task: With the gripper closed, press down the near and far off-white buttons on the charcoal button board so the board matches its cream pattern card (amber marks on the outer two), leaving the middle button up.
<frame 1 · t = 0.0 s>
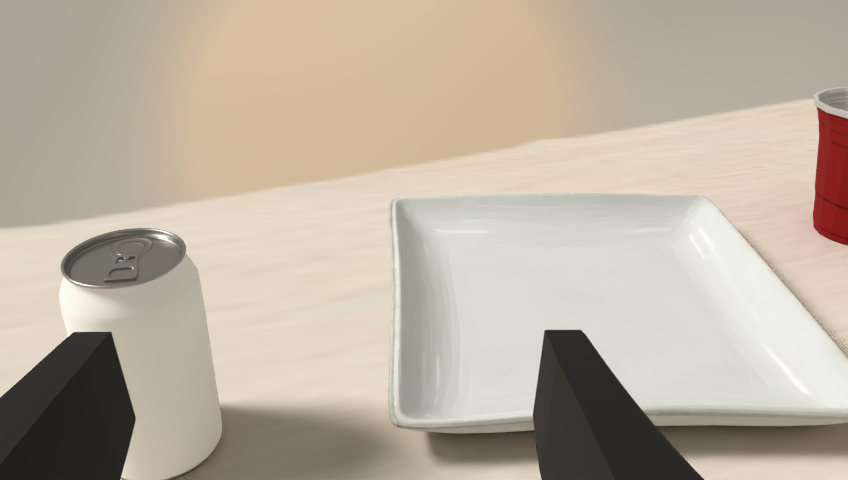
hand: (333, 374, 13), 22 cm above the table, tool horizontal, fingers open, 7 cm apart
can: (164, 445, 41), on the table
plastic cup: (845, 232, 65), on the table
square plate: (581, 324, 53), on the table
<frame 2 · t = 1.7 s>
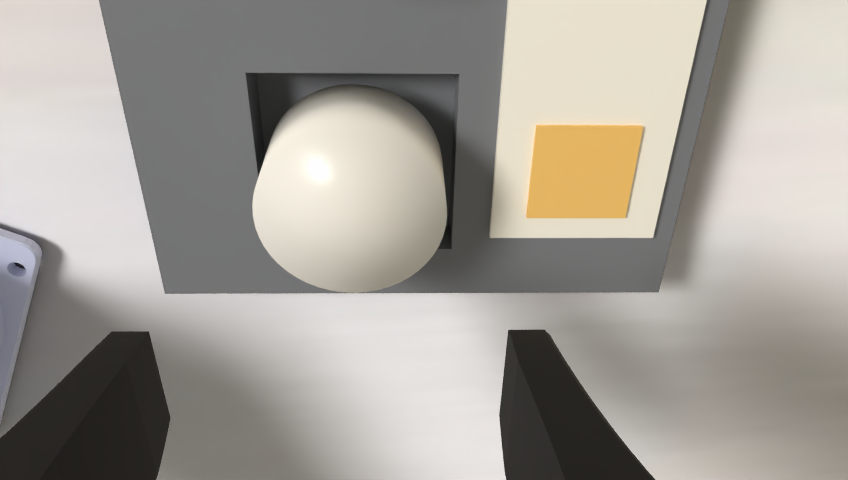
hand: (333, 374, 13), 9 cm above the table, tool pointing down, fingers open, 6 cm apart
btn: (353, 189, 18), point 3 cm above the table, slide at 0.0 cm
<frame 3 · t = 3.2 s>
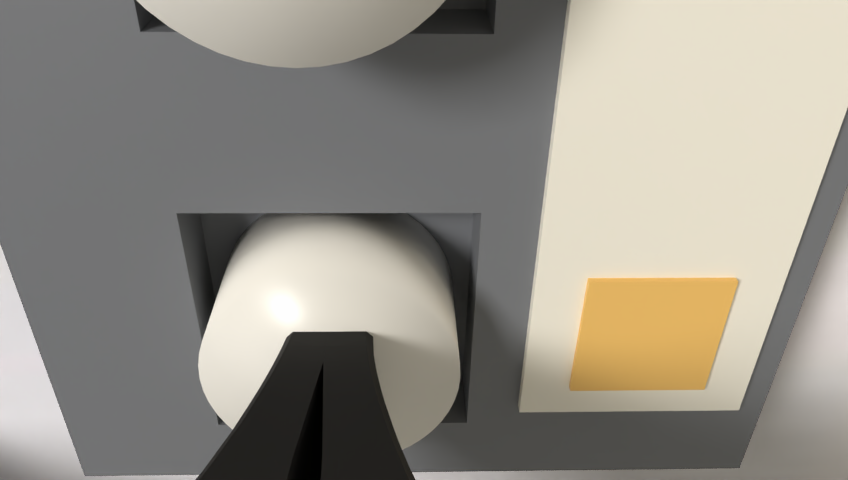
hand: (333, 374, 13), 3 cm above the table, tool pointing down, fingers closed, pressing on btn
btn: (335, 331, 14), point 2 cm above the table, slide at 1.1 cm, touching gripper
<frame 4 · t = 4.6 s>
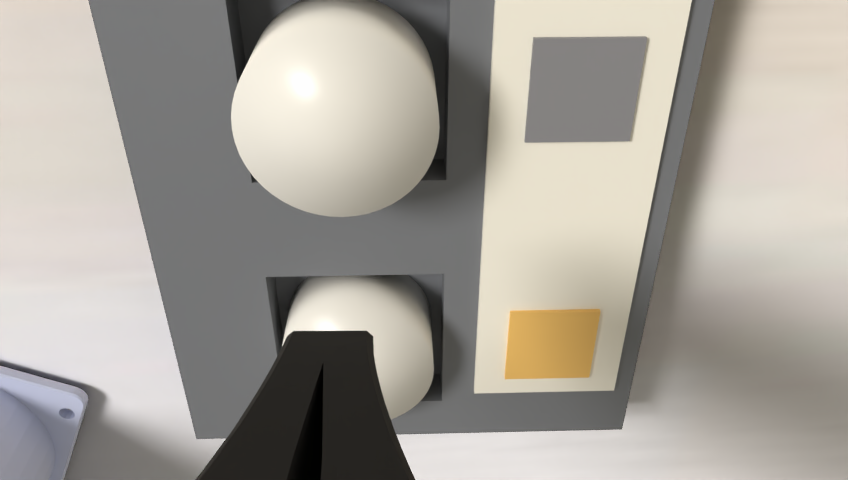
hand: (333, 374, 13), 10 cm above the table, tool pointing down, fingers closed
button board: (405, 59, 19), on the table
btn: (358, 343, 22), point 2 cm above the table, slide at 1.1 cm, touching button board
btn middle: (339, 106, 17), point 3 cm above the table, slide at 0.0 cm
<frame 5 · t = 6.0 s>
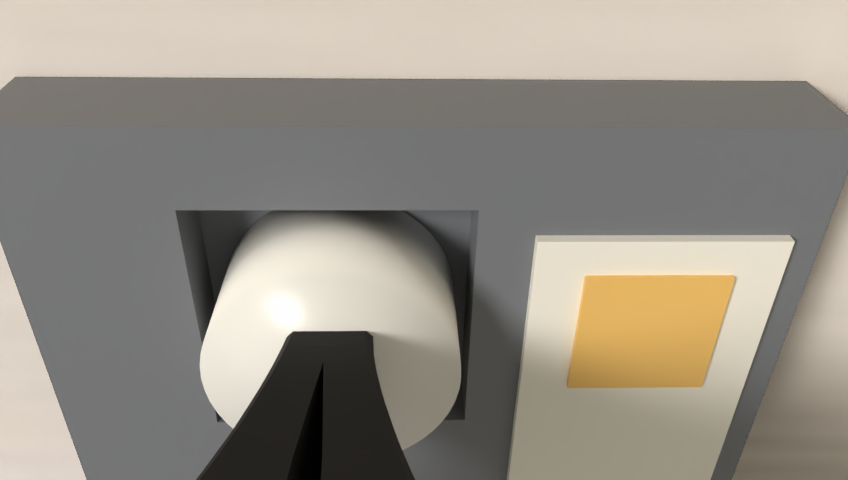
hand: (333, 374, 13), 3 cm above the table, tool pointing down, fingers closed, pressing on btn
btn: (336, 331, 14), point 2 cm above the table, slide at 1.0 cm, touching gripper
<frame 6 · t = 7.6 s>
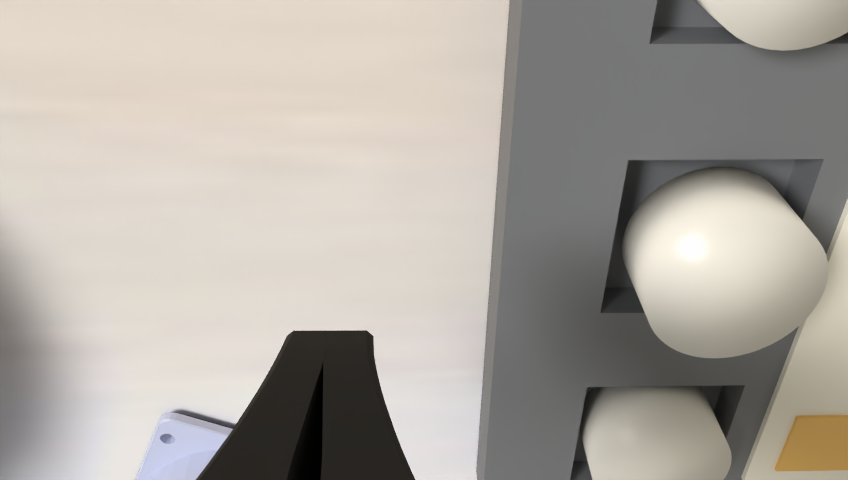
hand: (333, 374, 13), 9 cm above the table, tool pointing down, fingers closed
button board: (732, 202, 22), on the table
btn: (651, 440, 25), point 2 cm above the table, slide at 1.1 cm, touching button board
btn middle: (718, 263, 19), point 3 cm above the table, slide at 0.0 cm
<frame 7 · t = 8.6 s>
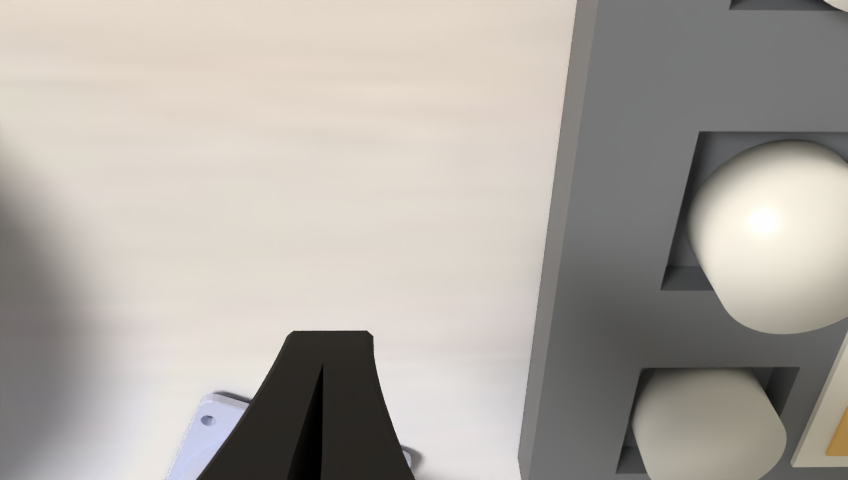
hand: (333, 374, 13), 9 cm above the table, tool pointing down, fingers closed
button board: (792, 180, 22), on the table
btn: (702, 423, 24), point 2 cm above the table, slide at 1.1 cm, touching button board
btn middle: (787, 237, 19), point 3 cm above the table, slide at 0.0 cm
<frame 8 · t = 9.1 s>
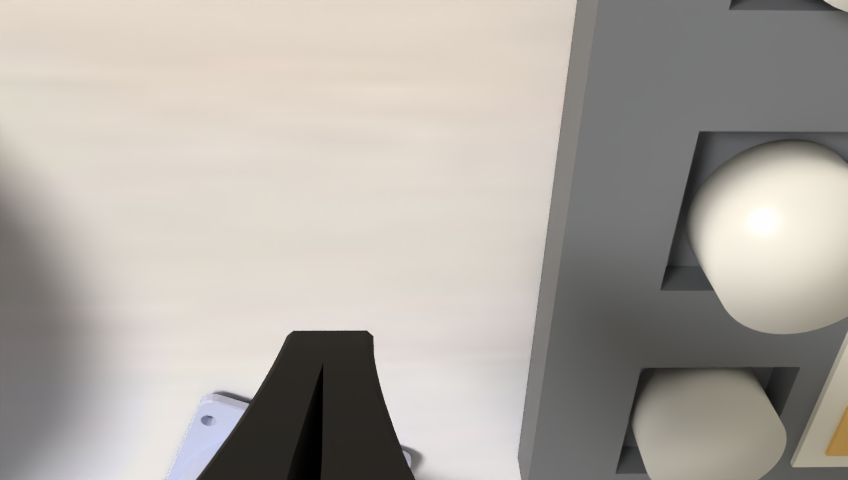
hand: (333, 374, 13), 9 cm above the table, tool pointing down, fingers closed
button board: (792, 180, 22), on the table
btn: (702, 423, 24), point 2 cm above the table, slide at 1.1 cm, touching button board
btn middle: (787, 237, 19), point 3 cm above the table, slide at 0.0 cm
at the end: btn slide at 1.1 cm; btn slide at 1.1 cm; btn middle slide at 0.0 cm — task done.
